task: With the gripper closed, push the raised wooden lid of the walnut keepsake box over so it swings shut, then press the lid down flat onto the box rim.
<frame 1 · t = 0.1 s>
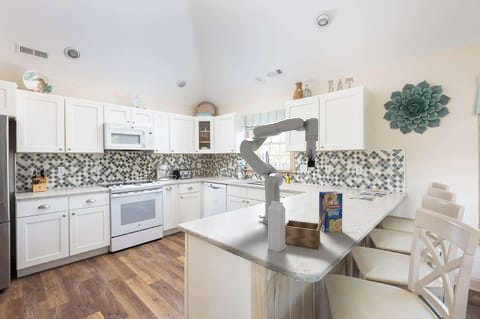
hand: (311, 166, 138), 37 cm above the worktop, tool pointing down, fingers open, 9 cm apart
crate: (302, 242, 113), on the worktop
lid: (326, 211, 109), point 17 cm above the worktop, hinge at 105.0°
milk: (276, 248, 106), on the worktop
beverage box: (330, 230, 134), on the worktop
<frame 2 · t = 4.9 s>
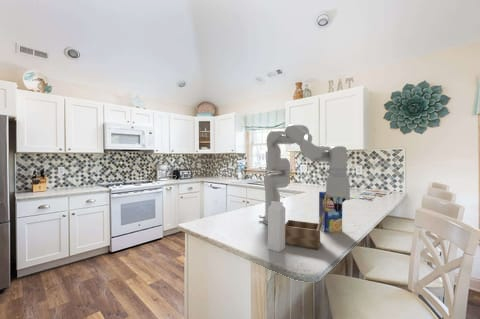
hand: (337, 211, 107), 17 cm above the worktop, tool pointing down, fingers closed
lid: (325, 211, 109), point 17 cm above the worktop, hinge at 101.6°, touching gripper
everything else where it was.
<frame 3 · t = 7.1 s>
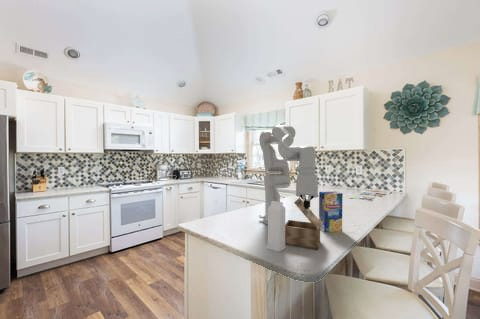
hand: (306, 208, 112), 17 cm above the worktop, tool pointing down, fingers closed
lid: (308, 212, 112), point 16 cm above the worktop, hinge at 47.1°, touching gripper
everything else where it was.
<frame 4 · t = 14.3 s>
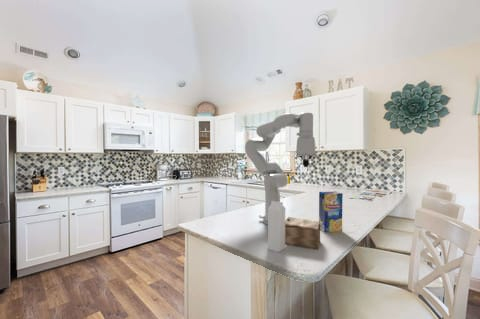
hand: (305, 167, 130), 37 cm above the worktop, tool pointing down, fingers closed
lid: (301, 222, 113), point 10 cm above the worktop, hinge at 2.6°
everything else where it was.
at the end: lid at +3° (first picture: +105°) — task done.
